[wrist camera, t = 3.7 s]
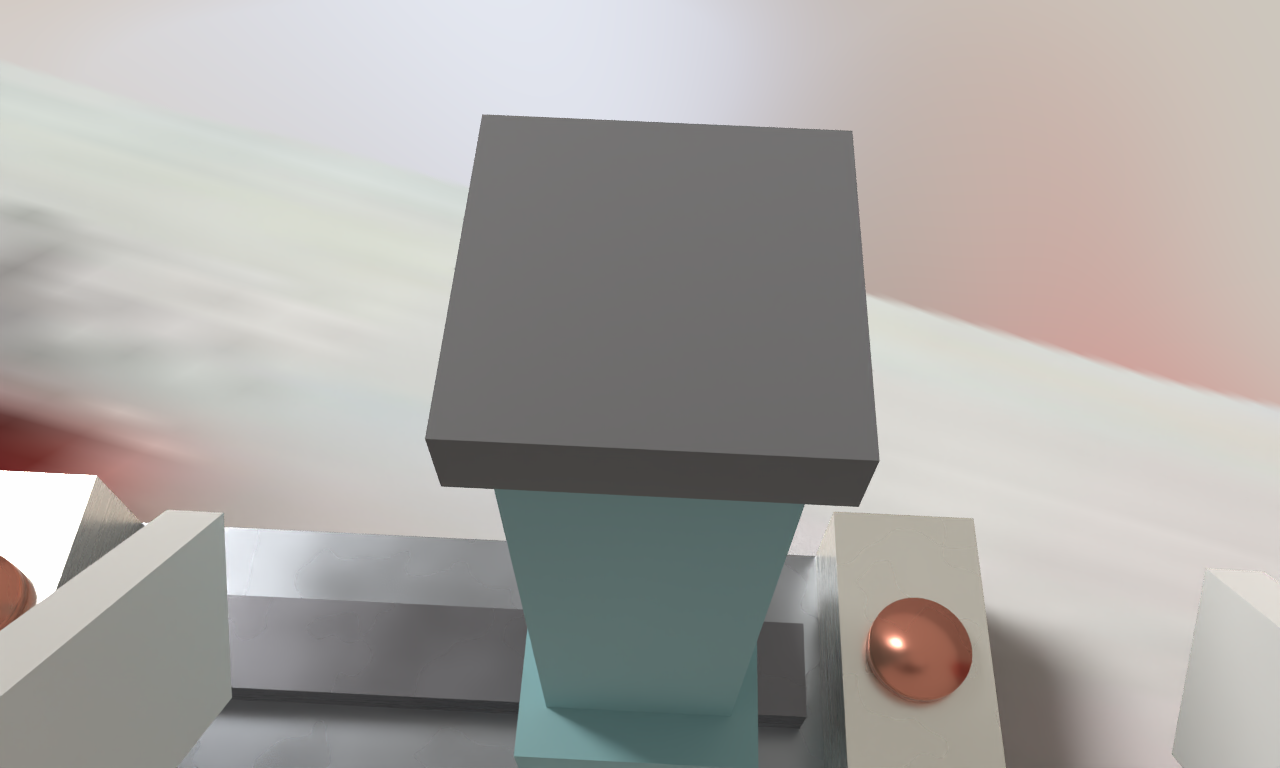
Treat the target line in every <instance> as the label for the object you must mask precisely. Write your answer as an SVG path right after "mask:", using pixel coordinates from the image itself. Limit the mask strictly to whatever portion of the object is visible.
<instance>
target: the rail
mask: <svg viewBox="0 0 1280 768" xmlns="http://www.w3.org/2000/svg"><path fill="white" fill-rule="evenodd" d="M147 524H148V523H141V522H140V521H139V520H138V518H137V517H136V516H135V515H134V514H133V513H132V512H131V511H130V510H129V509H128V508H127V507H126V506H125V505H124V504H123V503H122V502H121V501H120V500H119V499H118V498H117V496H116V495H115V494H114V493H113V492H112V491H111V490H110V489H109V488H108V487H107V486H106V485H105V484H104V483H103V482H102V481H101V480H100V479H99V478H98V477H97V476H95V475H74V474H54V473H33V472H13V471H0V631H1V630H2V629H3V628H5V627H6V626H8V625H9V624H10V623H12V622H13V621H14V620H16V619H17V618H19V617H20V616H21V615H23V614H24V613H25V612H27V611H28V610H30V609H31V608H32V607H34V606H35V605H36V604H38V603H39V602H41V601H42V600H43V599H45V598H46V597H48V596H49V595H50V594H52V593H53V592H54V591H56V590H57V589H59V588H60V587H61V586H63V585H64V584H65V583H67V582H68V581H70V580H71V579H72V578H74V577H75V576H76V575H78V574H79V573H81V572H82V571H83V570H85V569H86V568H87V567H89V566H90V565H92V564H93V563H94V562H96V561H97V560H99V559H100V558H101V557H103V556H104V555H105V554H107V553H108V552H110V551H111V550H112V549H114V548H115V547H116V546H118V545H119V544H121V543H122V542H123V541H125V540H126V539H127V538H129V537H130V536H132V535H133V534H134V533H136V532H137V531H139V530H140V529H141V528H143V527H144V526H145V525H147ZM224 533H225V555H226V577H227V600H228V622H229V644H230V666H231V689H232V698H231V700H230V701H229V702H228V703H227V705H226V706H225V707H224V708H223V710H222V711H221V712H220V713H219V715H218V716H217V717H216V718H215V720H214V721H213V722H212V723H211V725H210V726H209V727H208V728H207V730H206V731H205V732H204V733H203V735H202V736H201V737H200V738H199V740H198V741H197V742H196V744H195V745H194V746H193V747H192V749H191V750H190V751H189V752H188V754H187V755H186V756H185V757H184V759H183V760H182V761H181V762H180V764H179V765H178V766H177V767H176V768H518V765H517V763H516V760H515V758H514V750H515V740H516V731H517V721H518V712H519V703H520V693H521V684H522V674H523V665H524V656H525V646H526V637H527V624H526V620H525V616H524V612H523V607H522V603H521V599H520V595H519V591H518V587H517V582H516V578H515V574H514V570H513V566H512V561H511V557H510V553H509V549H508V545H507V541H498V540H478V539H457V538H437V537H417V536H397V535H377V534H356V533H336V532H316V531H296V530H276V529H255V528H235V527H224ZM757 685H758V768H1006V763H1005V756H1004V748H1003V741H1002V733H1001V725H1000V718H999V710H998V703H997V695H996V687H995V680H994V672H993V664H992V657H991V649H990V642H989V634H988V626H987V619H986V611H985V603H984V596H983V588H982V581H981V573H980V565H979V558H978V550H977V542H976V535H975V527H974V520H973V518H952V517H932V516H911V515H891V514H870V513H850V512H833V515H832V517H831V519H830V522H829V524H828V527H827V529H826V532H825V534H824V537H823V539H822V541H821V544H820V546H819V549H818V551H817V554H816V556H801V555H787V556H786V559H785V562H784V565H783V568H782V571H781V574H780V577H779V579H778V582H777V585H776V588H775V591H774V594H773V597H772V599H771V602H770V605H769V608H768V611H767V614H766V617H765V620H764V622H763V625H762V628H761V631H760V634H759V637H758V640H757Z"/></svg>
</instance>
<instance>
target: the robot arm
mask: <svg viewBox="0 0 1280 768" xmlns="http://www.w3.org/2000/svg"><path fill="white" fill-rule="evenodd" d="M231 698H232V689H231V666H230V644H229V622H228V600H227V577H226V555H225V533H224V513H219V512H202V511H184V510H166V511H165V512H163V513H162V514H161V515H159V516H158V517H156V518H155V519H154V520H152V521H151V522H150V523H148V524H147V525H145V526H144V527H143V528H141V529H140V530H139V531H137V532H136V533H134V534H133V535H132V536H130V537H129V538H127V539H126V540H125V541H123V542H122V543H121V544H119V545H118V546H116V547H115V548H114V549H112V550H111V551H110V552H108V553H107V554H105V555H104V556H103V557H101V558H100V559H99V560H97V561H96V562H94V563H93V564H92V565H90V566H89V567H87V568H86V569H85V570H83V571H82V572H81V573H79V574H78V575H76V576H75V577H74V578H72V579H71V580H70V581H68V582H67V583H65V584H64V585H63V586H61V587H60V588H59V589H57V590H56V591H54V592H53V593H52V594H50V595H49V596H48V597H46V598H45V599H43V600H42V601H41V602H39V603H38V604H36V605H35V606H34V607H32V608H31V609H30V610H28V611H27V612H25V613H24V614H23V615H21V616H20V617H19V618H17V619H16V620H14V621H13V622H12V623H10V624H9V625H8V626H6V627H5V628H3V629H2V630H1V631H0V768H176V767H177V766H178V765H179V764H180V762H181V761H182V760H183V759H184V757H185V756H186V755H187V754H188V752H189V751H190V750H191V749H192V747H193V746H194V745H195V744H196V742H197V741H198V740H199V738H200V737H201V736H202V735H203V733H204V732H205V731H206V730H207V728H208V727H209V726H210V725H211V723H212V722H213V721H214V720H215V718H216V717H217V716H218V715H219V713H220V712H221V711H222V710H223V708H224V707H225V706H226V705H227V703H228V702H229V701H230V700H231ZM1172 755H1173V756H1174V758H1175V759H1176V760H1177V761H1178V763H1179V764H1180V765H1181V766H1182V767H1183V768H1280V583H1279V582H1278V581H1276V580H1275V579H1274V578H1272V577H1271V576H1269V575H1268V574H1267V573H1265V572H1261V571H1243V570H1225V569H1208V568H1206V570H1205V575H1204V581H1203V586H1202V592H1201V597H1200V603H1199V608H1198V613H1197V619H1196V624H1195V630H1194V635H1193V641H1192V646H1191V652H1190V657H1189V663H1188V668H1187V674H1186V679H1185V684H1184V690H1183V695H1182V701H1181V706H1180V712H1179V717H1178V723H1177V728H1176V734H1175V739H1174V745H1173V750H1172Z"/></svg>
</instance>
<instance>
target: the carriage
mask: <svg viewBox="0 0 1280 768" xmlns="http://www.w3.org/2000/svg"><path fill="white" fill-rule="evenodd" d="M863 268H864V267H863V255H862V243H861V231H860V219H859V208H858V195H857V183H856V170H855V159H854V146H853V134H852V131H841V130H840V131H839V130H820V129H797V128H775V127H751V126H729V125H706V124H684V123H662V122H639V121H616V120H593V119H572V118H571V119H570V118H549V117H527V116H525V117H524V116H504V115H503V116H502V115H482V120H481V125H480V131H479V137H478V142H477V148H476V154H475V160H474V166H473V171H472V176H471V182H470V188H469V193H468V199H467V205H466V210H465V216H464V222H463V227H462V233H461V239H460V244H459V250H458V256H457V261H456V267H455V273H454V278H453V284H452V290H451V295H450V301H449V307H448V312H447V318H446V324H445V329H444V335H443V341H442V346H441V352H440V358H439V363H438V369H437V375H436V380H435V386H434V392H433V397H432V403H431V409H430V414H429V420H428V426H427V431H426V437H425V440H426V443H427V446H428V449H429V452H430V455H431V458H432V461H433V464H434V467H435V470H436V473H437V476H438V479H439V481H440V484H441V486H444V487H464V488H485V489H494V490H495V494H496V499H497V503H498V507H499V511H500V515H501V520H502V524H503V528H504V532H505V536H506V540H507V545H508V549H509V553H510V557H511V561H512V566H513V570H514V574H515V578H516V582H517V587H518V591H519V595H520V599H521V603H522V607H523V612H524V616H525V620H526V624H527V637H526V646H525V656H524V665H523V674H522V684H521V693H520V703H519V712H518V721H517V731H516V740H515V750H514V758H515V760H516V763H517V765H518V768H758V685H757V640H758V637H759V634H760V631H761V628H762V625H763V622H764V620H765V617H766V614H767V611H768V608H769V605H770V602H771V599H772V597H773V594H774V591H775V588H776V585H777V582H778V579H779V577H780V574H781V571H782V568H783V565H784V562H785V559H786V556H787V554H788V551H789V548H790V545H791V542H792V539H793V536H794V534H795V531H796V528H797V525H798V522H799V519H800V516H801V513H802V511H803V508H804V505H805V504H812V505H832V506H853V507H859V505H860V502H861V500H862V498H863V496H864V494H865V491H866V489H867V487H868V485H869V483H870V480H871V478H872V476H873V474H874V472H875V469H876V467H877V465H878V463H879V449H878V437H877V425H876V413H875V401H874V389H873V376H872V364H871V352H870V340H869V328H868V316H867V304H866V291H865V279H864V269H863Z"/></svg>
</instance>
